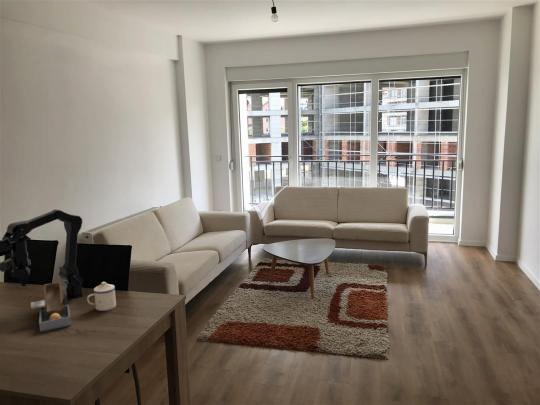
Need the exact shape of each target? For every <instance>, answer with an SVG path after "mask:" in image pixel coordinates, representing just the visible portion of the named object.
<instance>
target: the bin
mask: <svg viewBox="0 0 540 405" xmlns="http://www.w3.org/2000/svg"><path fill="white" fill-rule="evenodd" d="M70 312H71V311H70V305H69V304H67V305H63V310H61V311H56V312H51V313H46V312H45V309H44V310H42V309H41V310H39V317H38V318H39V320H38V324H39V333H43V332H48V331H51V330H52V331H53V330H58V329H63V328H68V327H71V326H72V321H71V313H70ZM53 313H58V314H59V315H60V317H61V318H60V319H55V320H50V316H51V315H52V314H53Z"/></svg>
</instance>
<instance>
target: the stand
mask: <svg viewBox="0 0 540 405" xmlns="http://www.w3.org/2000/svg"><path fill="white" fill-rule="evenodd" d="M63 296H64V303H65V305H68V297H67V293H66V294H64V295H63ZM42 300H44V299H43V298H40V300H39V301H42ZM65 305H64V306H65ZM40 309H41V310H45V307H41V308H40Z"/></svg>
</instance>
